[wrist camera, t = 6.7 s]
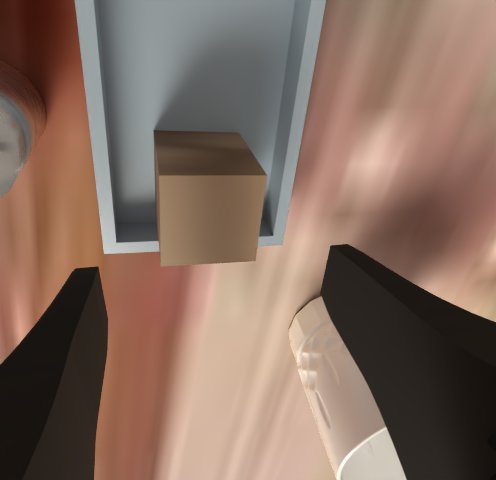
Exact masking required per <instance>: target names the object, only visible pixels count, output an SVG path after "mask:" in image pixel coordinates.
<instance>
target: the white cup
mask: <svg viewBox="0 0 496 480" xmlns="http://www.w3.org/2000/svg"><path fill="white" fill-rule="evenodd" d="M288 332H289V339H290V345H291V348H292V351H293V354H294V356H295V359H296V362H297V364H298V370H299V374H300V377H301V380H302V383H303V386H304V389H305V392H306V395H307V398H308V401H309V404H310V407H311V410H312V413H313V415H314V418H315V421H316V424H317V426H318V429H319V432H320V435H321V438H322V440H323V443H324V446H325V449H326V452H327V454H328V457H329V460H330V463H331V466H332V468H333V471H334V474H335V477H336V480H407V479H406V477H405V474H404V471H403V469H402V466H401V463H400V461H399V458H398V455H397V453H396V450H395V447H394V445H393V442H392V440H391V437H390V435H389V433H388V430H387V428H386V425H385V423H384V420H383V418H382V416H381V413H380V411H379V409H378V407H377V404H376V402H375V400H374V398H373V395H372V393H371V391H370V389H369V387H368V385H367V383H366V381H365V379H364V377H363V375H362V373H361V372H360V370H359V368H358V366H357V365H356V363H355V361H354V360H353V358H352V356H351V354H350V353H349V351H348V349H347V347H346V346H345V344H344V342H343V341H342V339H341V337H340V335H339V333H338V332H337V330H336V328H335V326H334V325H333V323H332V321H331V319H330V317H329V314H328V312H327V309H326V307H325V304H324V302H323V299H322V296H320V297H318V298H316V299H314V300H312V301H310V302H309V303H308V304H307V305H306V306H305V307H304V308H302V309H301V310H300V311H299V312H298V313H297V314H296V315H295V317H294V320H293V322H292V324H291V326H290V328H289V331H288Z"/></svg>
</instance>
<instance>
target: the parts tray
mask: <svg viewBox="0 0 496 480" xmlns="http://www.w3.org/2000/svg"><path fill="white" fill-rule="evenodd" d="M325 4H326V0H75V7H76V15H77V24H78V33H79V41H80V50H81V59H82V67H83V76H84V85H85V93H86V102H87V111H88V119H89V128H90V137H91V145H92V154H93V162H94V171H95V180H96V188H97V197H98V206H99V214H100V223H101V232H102V240H103V249H104V254H114V253H134V252H154V251H159V241H158V230H157V219H156V208H155V171H154V132H153V130H162V131H199V132H235V133H240V135H241V136H242V138H243V140H244V141H245V143H246V144H247V146H248V147H249V149H250V150H251V152H252V153H253V155H254V156H255V158H256V159H257V161H258V162H259V164H260V165H261V167H262V168H263V170H264V171H265V173H266V174H267V182H266V189H265V196H264V203H263V210H262V217H261V225H260V232H259V239H258V246H274V245H283V240H284V234H285V228H286V223H287V217H288V212H289V206H290V200H291V195H292V189H293V184H294V178H295V172H296V167H297V161H298V156H299V150H300V144H301V139H302V133H303V128H304V122H305V116H306V111H307V105H308V100H309V94H310V88H311V83H312V77H313V72H314V66H315V60H316V55H317V49H318V44H319V38H320V32H321V27H322V21H323V16H324V10H325Z"/></svg>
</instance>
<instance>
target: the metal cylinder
mask: <svg viewBox="0 0 496 480" xmlns="http://www.w3.org/2000/svg"><path fill="white" fill-rule="evenodd" d="M45 123H46V111H45V107H44V103H43V100H42V98H41V96H40V94H39V92H38V91H37V89H36V88H35V86H34V85H33V84H32V83H31V81H30V80H29V79H28V78H27V77H26V76H25V75H23V74H22V73H21V72H20V71H18V70H17V69H15V68H14V67H12V66H10V65H8V64H6V63H4V62H2V61H0V197H2V196H3V195H4V194H5V193H7V192H8V191H9V189H10V188H11V187H12V186H13V184H14V182H15V180H16V179H17V177H18V175H19V173H20V172H21V170H22V168H23V166H24V165H25V163H26V161H27V159H28V158H29V156H30V154H31V152H32V151H33V149H34V147H35V145H36V144H37V142H38V140H39V139H40V137H41V135H42V133H43V131H44V128H45Z"/></svg>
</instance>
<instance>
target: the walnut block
mask: <svg viewBox="0 0 496 480" xmlns="http://www.w3.org/2000/svg"><path fill="white" fill-rule="evenodd" d="M153 132H154V171H155V208H156V219H157V230H158V241H159V251H160V262H161V266H178V265H195V264H212V263H230V262H247V261H255V260H256V253H257V246H258V239H259V232H260V225H261V217H262V210H263V203H264V196H265V189H266V182H267V174H266V173H265V171H264V170H263V168H262V167H261V165H260V164H259V162H258V161H257V159H256V158H255V156H254V155H253V153H252V152H251V150H250V149H249V147H248V146H247V144H246V143H245V141H244V140H243V138H242V136H241V135H240V133H235V132H199V131H162V130H153Z"/></svg>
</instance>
